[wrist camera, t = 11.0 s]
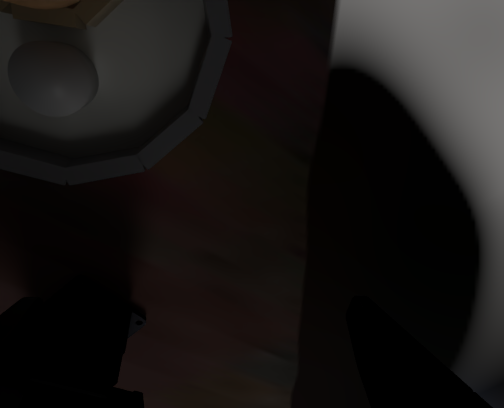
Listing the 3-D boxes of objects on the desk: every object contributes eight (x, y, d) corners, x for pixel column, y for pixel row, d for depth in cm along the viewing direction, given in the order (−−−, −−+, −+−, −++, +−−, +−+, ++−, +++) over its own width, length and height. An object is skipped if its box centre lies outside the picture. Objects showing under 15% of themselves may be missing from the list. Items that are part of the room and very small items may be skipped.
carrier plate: (85, 214, 21) (70, 241, 18) (-230, -29, 13) (-348, -51, 10) (278, 48, 19) (296, 48, 16) (29, -345, 11) (-25, -485, 8)
